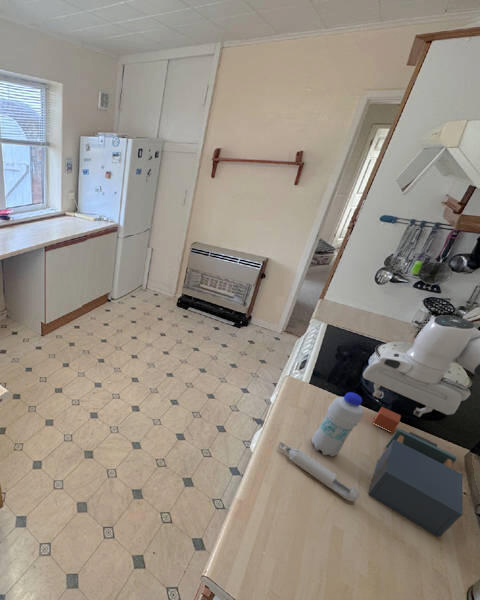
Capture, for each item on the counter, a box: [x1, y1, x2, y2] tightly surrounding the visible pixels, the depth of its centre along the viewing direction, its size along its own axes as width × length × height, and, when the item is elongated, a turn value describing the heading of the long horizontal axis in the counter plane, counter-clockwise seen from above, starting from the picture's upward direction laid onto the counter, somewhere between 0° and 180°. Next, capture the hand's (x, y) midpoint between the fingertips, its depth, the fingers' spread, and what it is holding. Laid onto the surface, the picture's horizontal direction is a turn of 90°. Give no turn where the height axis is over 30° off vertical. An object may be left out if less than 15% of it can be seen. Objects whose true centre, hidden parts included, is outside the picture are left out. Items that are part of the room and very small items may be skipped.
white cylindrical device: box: [277, 441, 360, 502], centre depth 81 cm, size 18×5×6 cm, turn 37°
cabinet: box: [367, 439, 463, 538], centre depth 77 cm, size 15×13×9 cm
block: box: [373, 406, 402, 433], centre depth 99 cm, size 5×5×5 cm
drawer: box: [385, 428, 458, 469], centre depth 84 cm, size 18×11×7 cm, turn 132°
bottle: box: [311, 391, 364, 457], centre depth 86 cm, size 7×7×20 cm
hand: (395, 405), depth 97 cm, fingers open, 8 cm apart
